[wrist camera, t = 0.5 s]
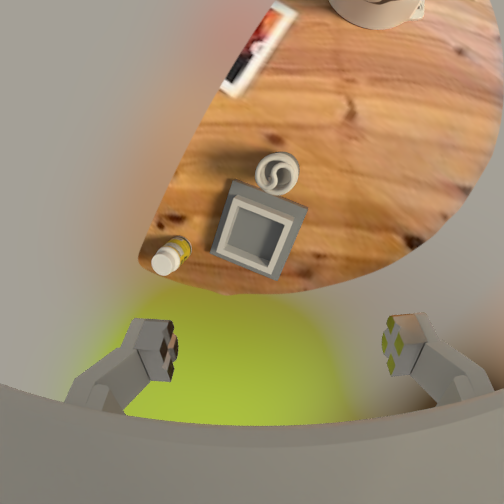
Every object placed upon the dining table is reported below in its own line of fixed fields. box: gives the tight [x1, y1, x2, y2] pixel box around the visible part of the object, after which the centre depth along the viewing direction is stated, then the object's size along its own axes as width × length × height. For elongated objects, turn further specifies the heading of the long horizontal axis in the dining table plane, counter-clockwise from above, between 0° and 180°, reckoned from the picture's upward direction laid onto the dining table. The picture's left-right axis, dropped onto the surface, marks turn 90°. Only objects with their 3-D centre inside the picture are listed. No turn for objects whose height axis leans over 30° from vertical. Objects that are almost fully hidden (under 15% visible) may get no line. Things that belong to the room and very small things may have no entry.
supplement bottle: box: [152, 236, 192, 276], centre depth 57 cm, size 5×5×8 cm
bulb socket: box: [210, 179, 308, 281], centre depth 54 cm, size 14×13×4 cm
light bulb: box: [255, 152, 300, 195], centre depth 45 cm, size 6×6×12 cm
